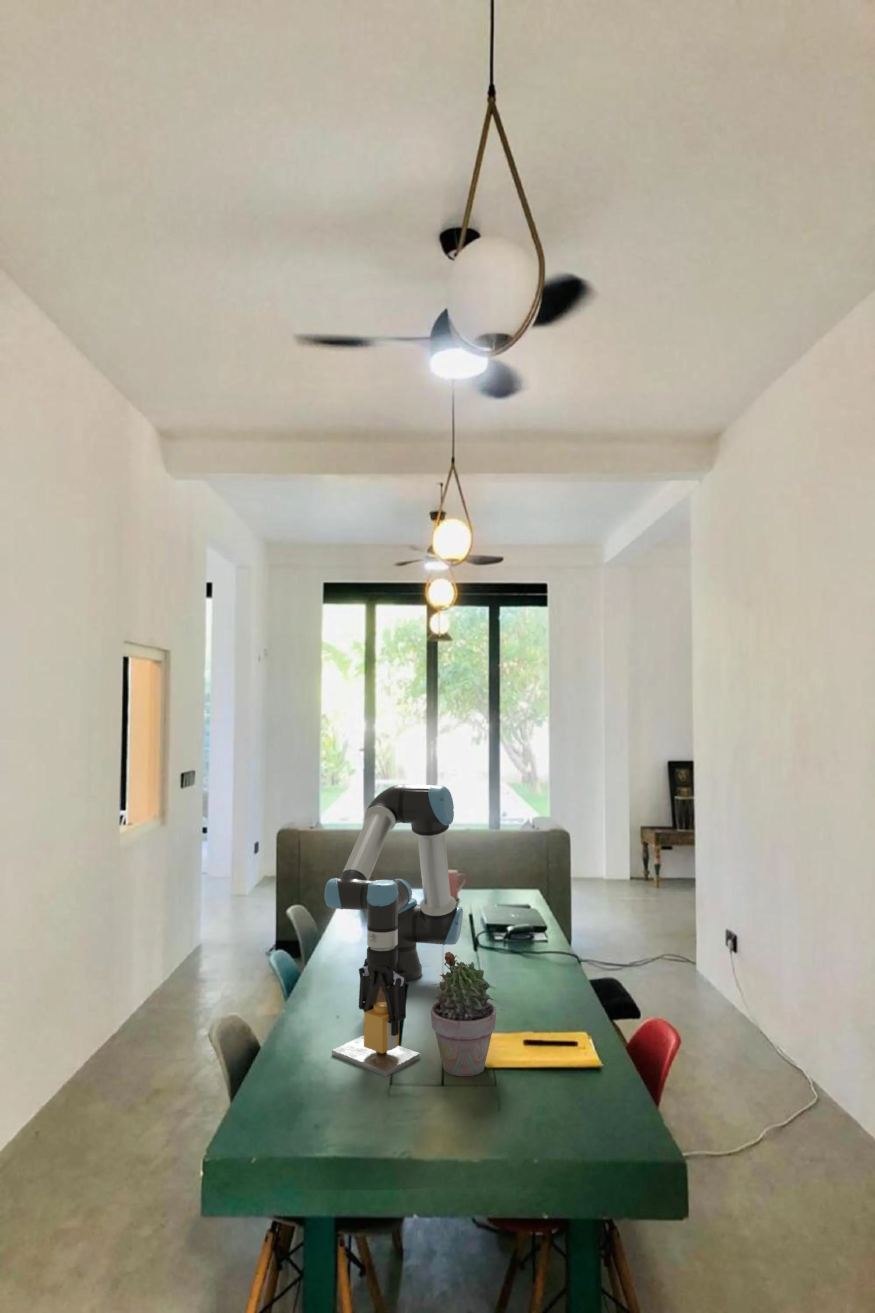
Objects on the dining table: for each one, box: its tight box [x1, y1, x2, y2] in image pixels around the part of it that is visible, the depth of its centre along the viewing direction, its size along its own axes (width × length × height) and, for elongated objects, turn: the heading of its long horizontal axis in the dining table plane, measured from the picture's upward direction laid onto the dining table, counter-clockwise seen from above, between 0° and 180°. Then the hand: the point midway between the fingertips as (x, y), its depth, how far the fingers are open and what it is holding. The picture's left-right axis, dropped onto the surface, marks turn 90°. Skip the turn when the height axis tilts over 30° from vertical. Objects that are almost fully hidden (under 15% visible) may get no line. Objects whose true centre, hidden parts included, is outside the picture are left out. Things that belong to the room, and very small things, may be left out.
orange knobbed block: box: [363, 1002, 400, 1053], centre depth 183 cm, size 6×6×10 cm
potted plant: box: [424, 951, 506, 1077], centre depth 179 cm, size 18×20×25 cm
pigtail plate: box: [331, 1034, 421, 1078], centre depth 184 cm, size 18×12×6 cm, turn 51°
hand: (381, 1044), depth 182 cm, fingers closed on orange knobbed block, 6 cm apart
